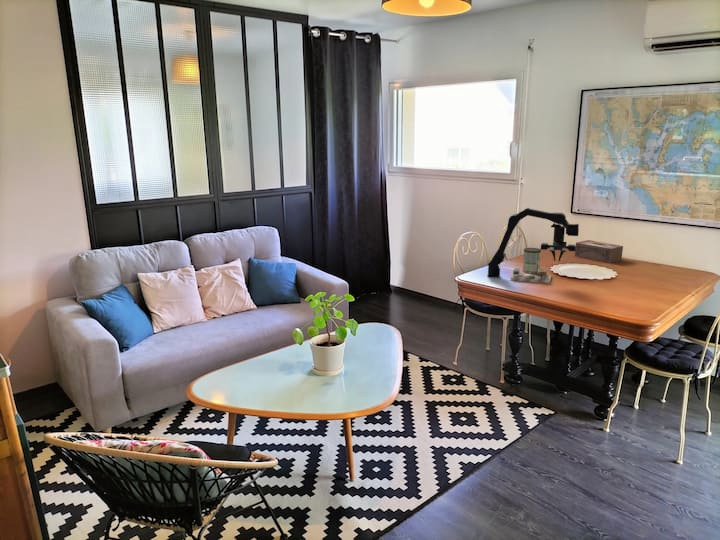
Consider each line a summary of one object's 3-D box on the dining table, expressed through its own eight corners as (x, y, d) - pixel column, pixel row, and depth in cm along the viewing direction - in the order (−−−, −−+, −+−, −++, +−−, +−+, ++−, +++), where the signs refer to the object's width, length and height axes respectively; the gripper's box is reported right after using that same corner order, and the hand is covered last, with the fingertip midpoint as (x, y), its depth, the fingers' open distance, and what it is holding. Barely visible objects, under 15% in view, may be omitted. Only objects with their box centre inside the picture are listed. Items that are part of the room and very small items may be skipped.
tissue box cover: (574, 256, 362) (575, 242, 360) (586, 253, 370) (588, 239, 367) (609, 263, 342) (610, 248, 339) (621, 260, 349) (623, 245, 347)
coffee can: (520, 269, 332) (522, 247, 328) (537, 269, 331) (538, 247, 327) (524, 273, 322) (525, 251, 318) (541, 273, 321) (542, 251, 317)
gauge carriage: (531, 279, 302) (531, 272, 301) (532, 274, 311) (532, 268, 310) (545, 280, 299) (546, 273, 298) (546, 275, 308) (546, 269, 307)
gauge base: (510, 280, 307) (511, 272, 306) (512, 275, 318) (513, 267, 317) (549, 283, 299) (550, 274, 298) (550, 277, 310) (551, 269, 309)
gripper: (541, 237, 292) (539, 263, 296) (576, 238, 285) (574, 266, 289) (542, 233, 302) (540, 259, 306) (576, 234, 295) (574, 261, 299)
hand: (556, 261), depth 300 cm, fingers closed
